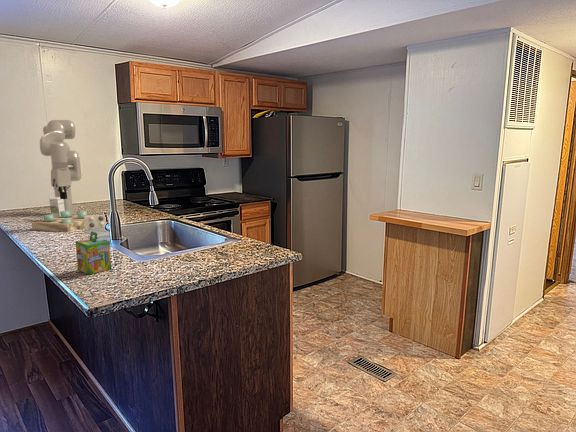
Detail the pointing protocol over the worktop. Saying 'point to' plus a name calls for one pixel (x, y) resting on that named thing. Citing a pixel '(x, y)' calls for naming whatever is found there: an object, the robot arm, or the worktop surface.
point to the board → (59, 224)
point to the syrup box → (56, 206)
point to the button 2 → (65, 214)
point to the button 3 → (66, 221)
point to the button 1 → (48, 218)
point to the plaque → (95, 221)
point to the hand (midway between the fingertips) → (63, 198)
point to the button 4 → (81, 215)
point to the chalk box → (93, 255)
